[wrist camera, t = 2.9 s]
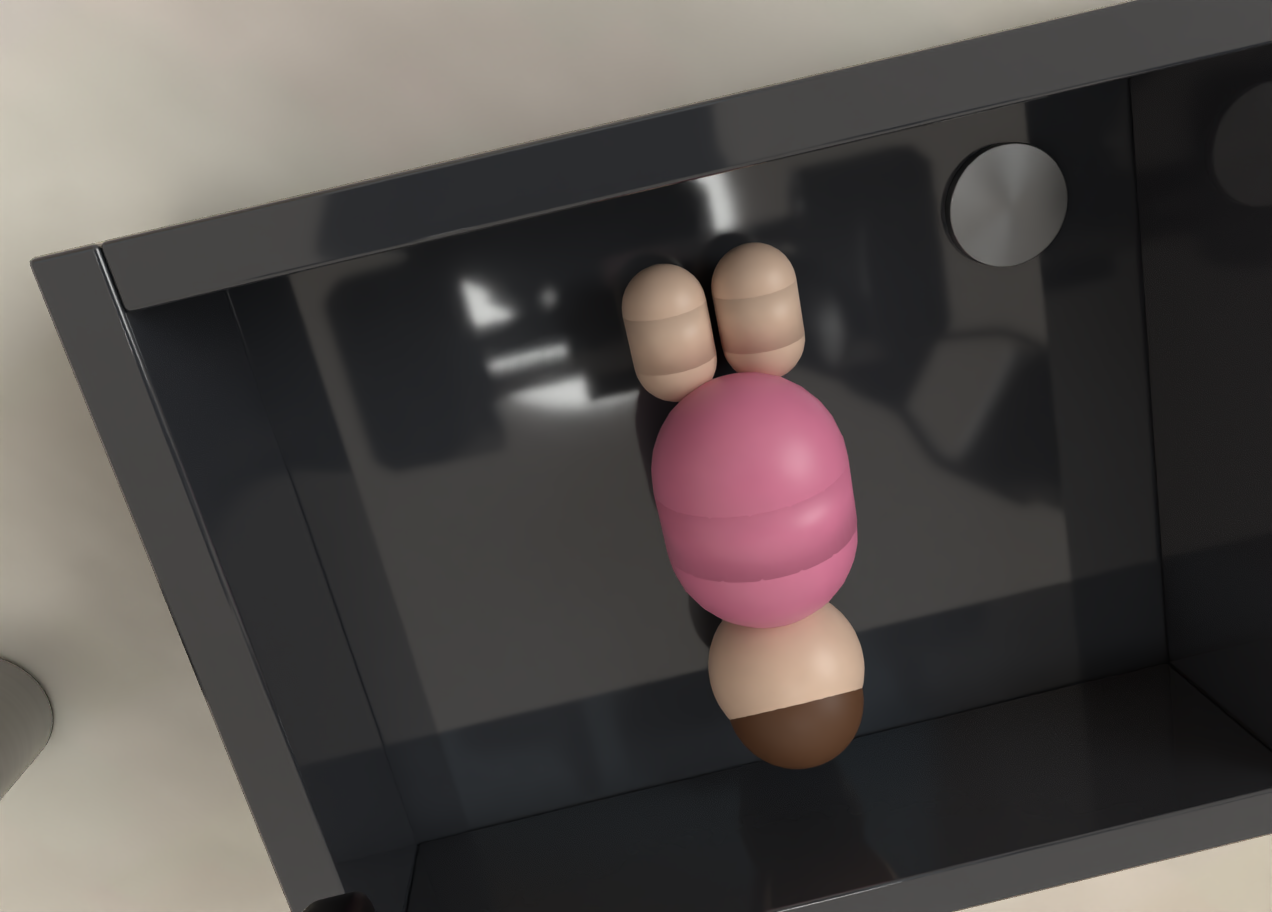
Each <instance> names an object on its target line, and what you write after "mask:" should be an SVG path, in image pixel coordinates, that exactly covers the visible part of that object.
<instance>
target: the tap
mask: <svg viewBox="0 0 1272 912" xmlns="http://www.w3.org/2000/svg"><path fill="white" fill-rule="evenodd" d="M52 722H53V719H52V710H51V705H50V703H49V700H48V698H47V696H46V694H45V692H44V690H43V689H42V688H41V686H40V685H39V684H38V682H37V681H36V680H35V679H34V678H33V677H32V676H31V675H29V674H28V673H27V672H26V671H24V670H23V669H21V668H20V667H18V666H16V665H14V664H12V663H11V662H8V661H6V660H3V659H0V800H1V799H2V798H3V797H4V795H5V794H6V793H7V792H8V791H9V789H10V788H11V787H12V786H13V785H14V783H15V782H16V781H17V780H18V779H19V777H20V776H21V775H22V774H23V773H24V771H25V770H26V769H27V768H28V767H29V765H30V764H31V763H32V762H33V761H34V759H35V758H36V757H37V756H38V755H39V753H40V752H41V751H42V750H43V748H44V747H45V745H46V744H47V742H48V740H49V737H50V734H51V730H52Z"/></svg>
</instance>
